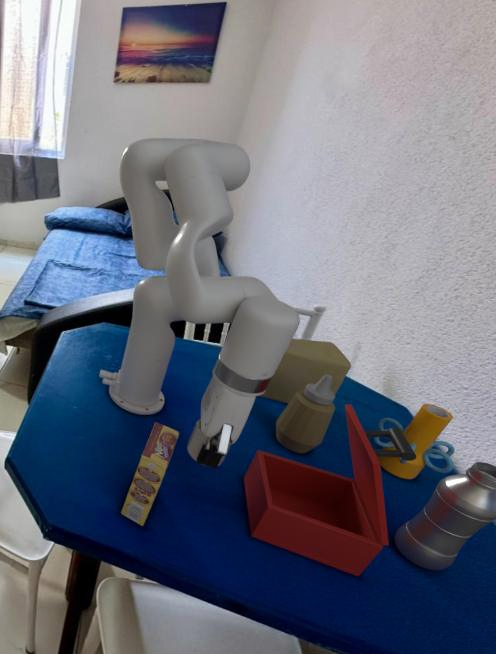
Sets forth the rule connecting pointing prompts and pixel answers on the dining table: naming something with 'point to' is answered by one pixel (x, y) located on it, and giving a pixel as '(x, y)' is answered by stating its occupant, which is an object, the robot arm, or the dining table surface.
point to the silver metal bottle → (450, 518)
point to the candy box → (150, 473)
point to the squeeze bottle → (306, 417)
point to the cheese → (306, 368)
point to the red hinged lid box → (310, 513)
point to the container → (200, 442)
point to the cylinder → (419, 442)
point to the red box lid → (373, 467)
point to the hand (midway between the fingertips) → (206, 449)
